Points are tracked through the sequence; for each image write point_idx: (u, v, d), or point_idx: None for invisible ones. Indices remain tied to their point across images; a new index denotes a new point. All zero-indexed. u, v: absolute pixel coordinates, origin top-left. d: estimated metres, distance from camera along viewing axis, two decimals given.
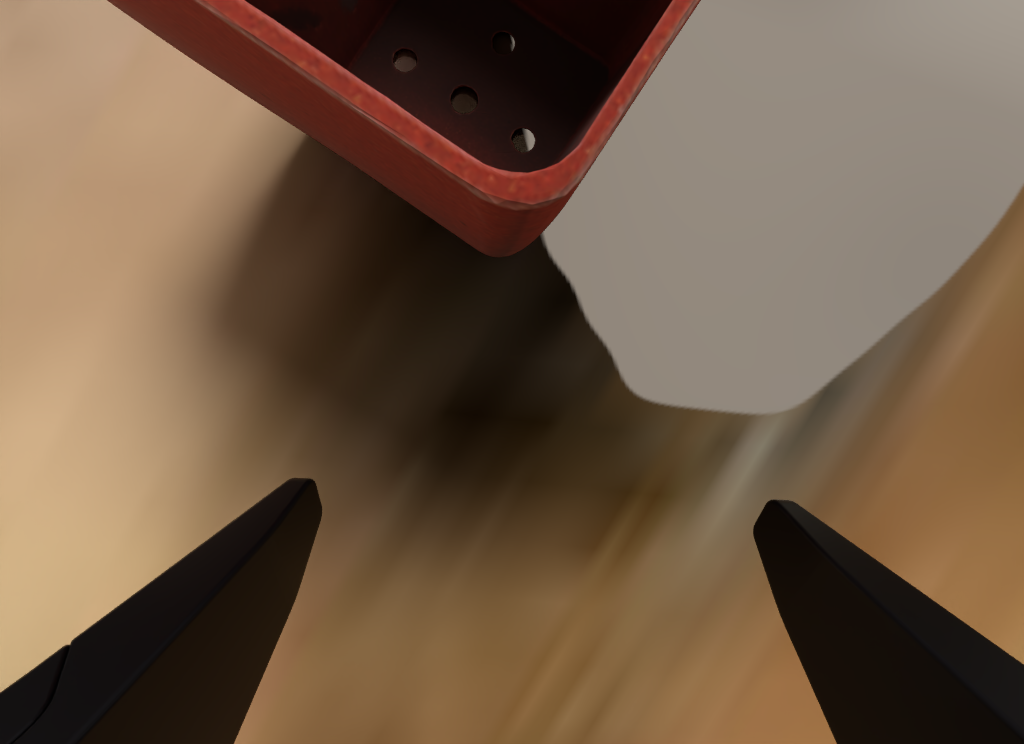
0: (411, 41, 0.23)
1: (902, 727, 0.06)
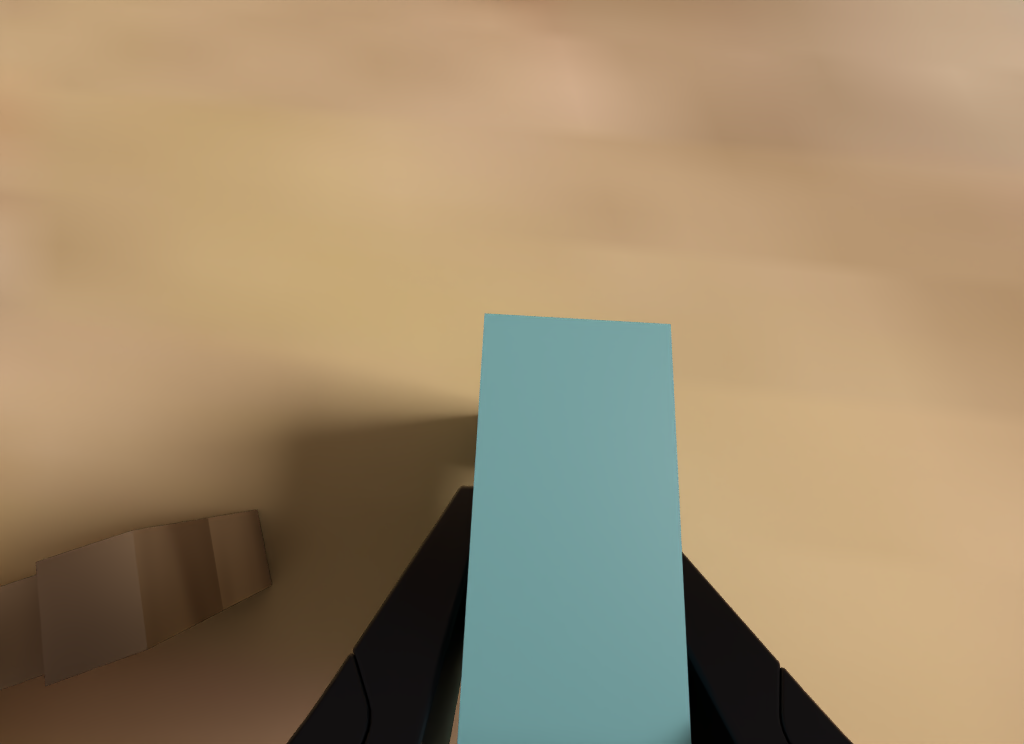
0: None
1: None
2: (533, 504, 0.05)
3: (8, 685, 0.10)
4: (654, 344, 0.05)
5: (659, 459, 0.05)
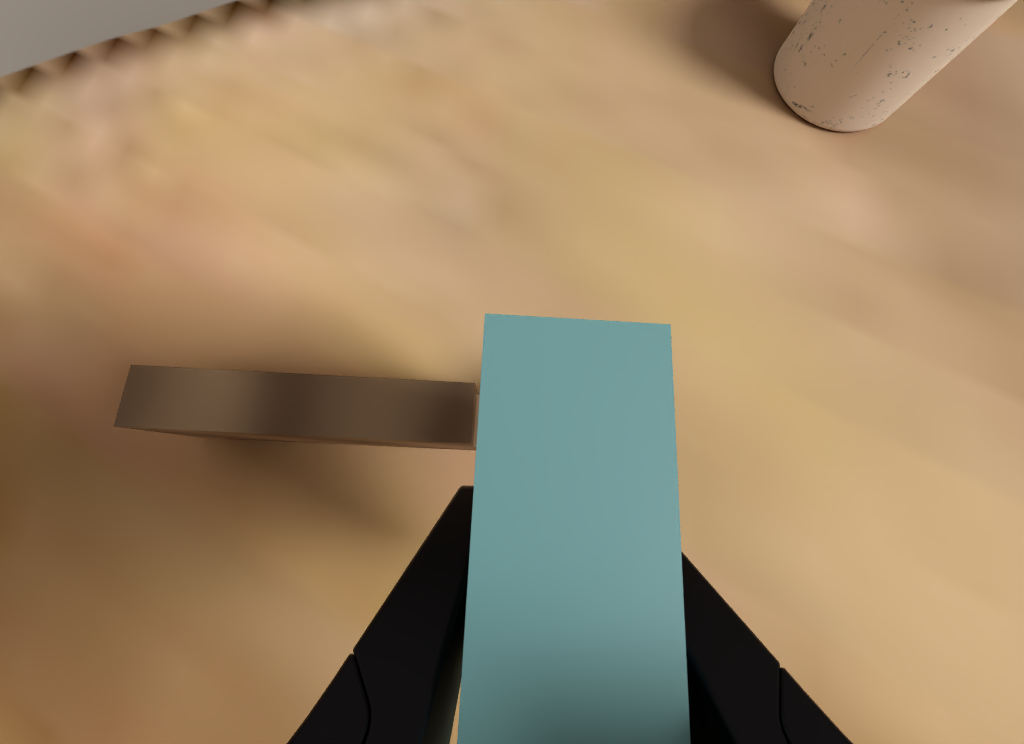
0: None
1: None
2: (534, 504, 0.05)
3: None
4: (654, 344, 0.05)
5: (659, 459, 0.05)
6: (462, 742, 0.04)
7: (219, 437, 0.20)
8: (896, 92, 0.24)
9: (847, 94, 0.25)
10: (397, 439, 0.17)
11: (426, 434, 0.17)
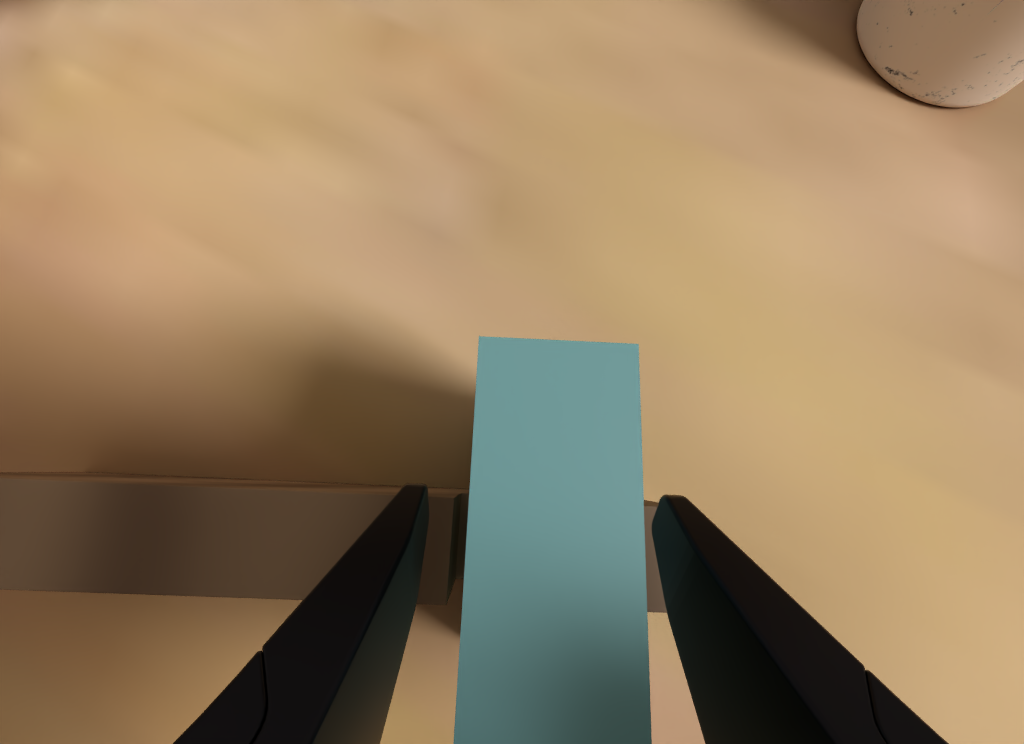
0: None
1: (746, 723, 0.05)
2: (520, 498, 0.06)
3: None
4: (624, 361, 0.06)
5: (627, 460, 0.06)
6: (460, 693, 0.05)
7: None
8: None
9: (971, 53, 0.18)
10: None
11: None
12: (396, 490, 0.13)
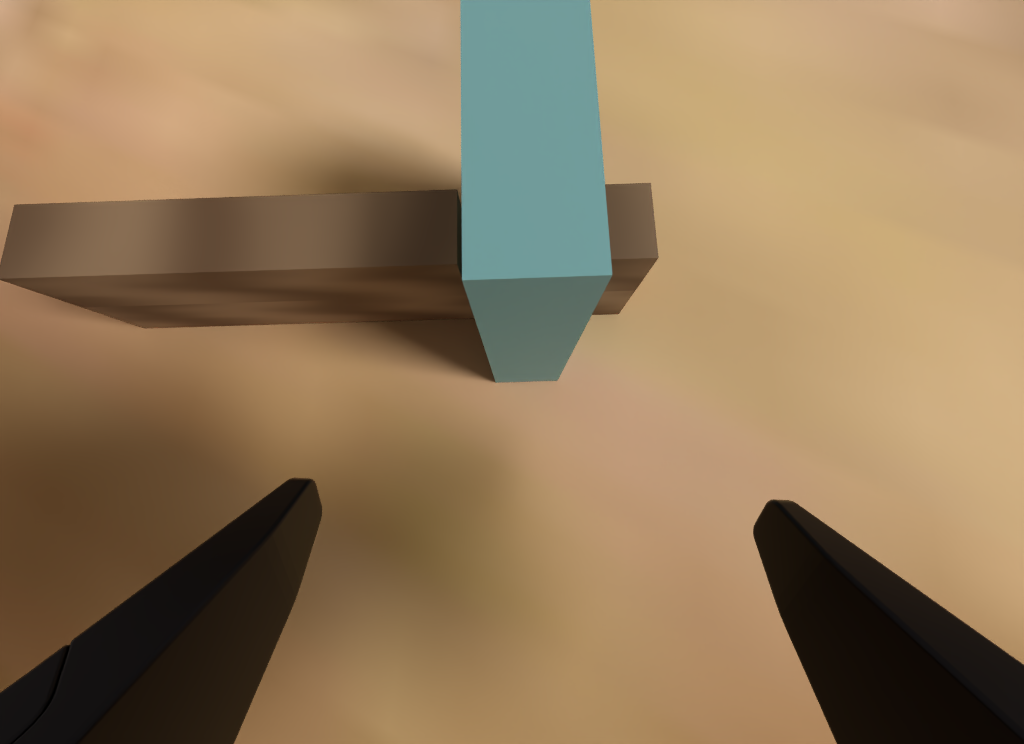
0: None
1: (902, 727, 0.06)
2: (498, 7, 0.08)
3: None
4: None
5: None
6: (463, 113, 0.07)
7: (162, 322, 0.17)
8: None
9: None
10: (359, 267, 0.12)
11: (396, 257, 0.12)
12: None
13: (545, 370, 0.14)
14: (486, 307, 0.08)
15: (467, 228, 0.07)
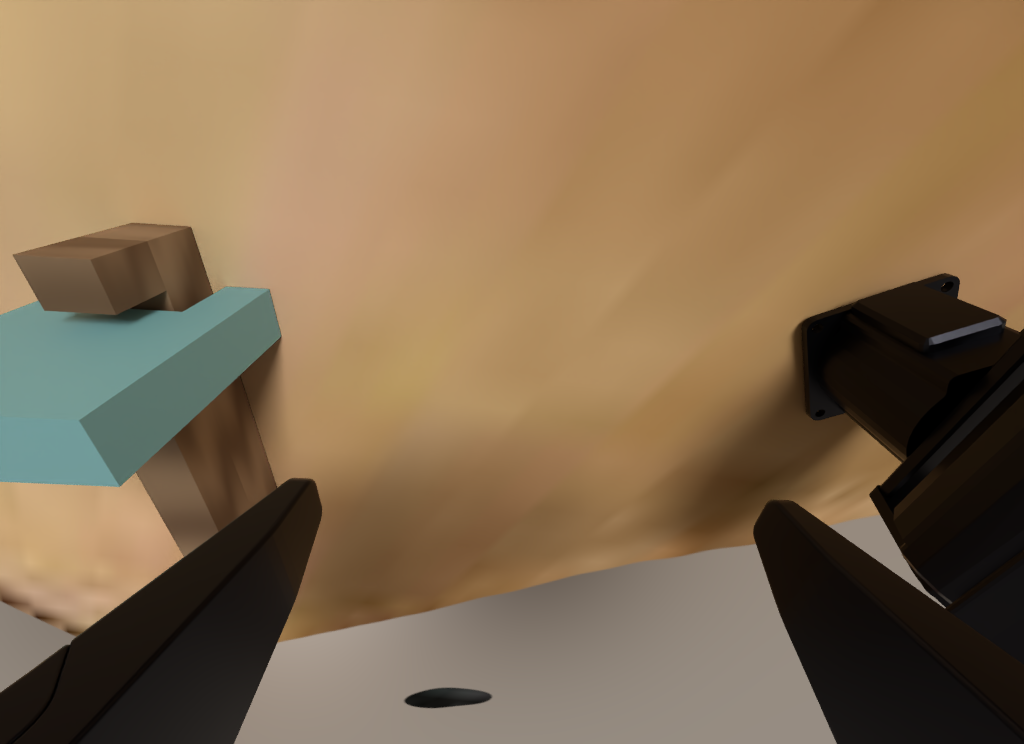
0: None
1: (902, 727, 0.05)
2: None
3: None
4: None
5: None
6: (5, 481, 0.12)
7: None
8: None
9: None
10: (185, 457, 0.18)
11: None
12: None
13: (247, 320, 0.18)
14: (150, 448, 0.13)
15: (85, 483, 0.12)
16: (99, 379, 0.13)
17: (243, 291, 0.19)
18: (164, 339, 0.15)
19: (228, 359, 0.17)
